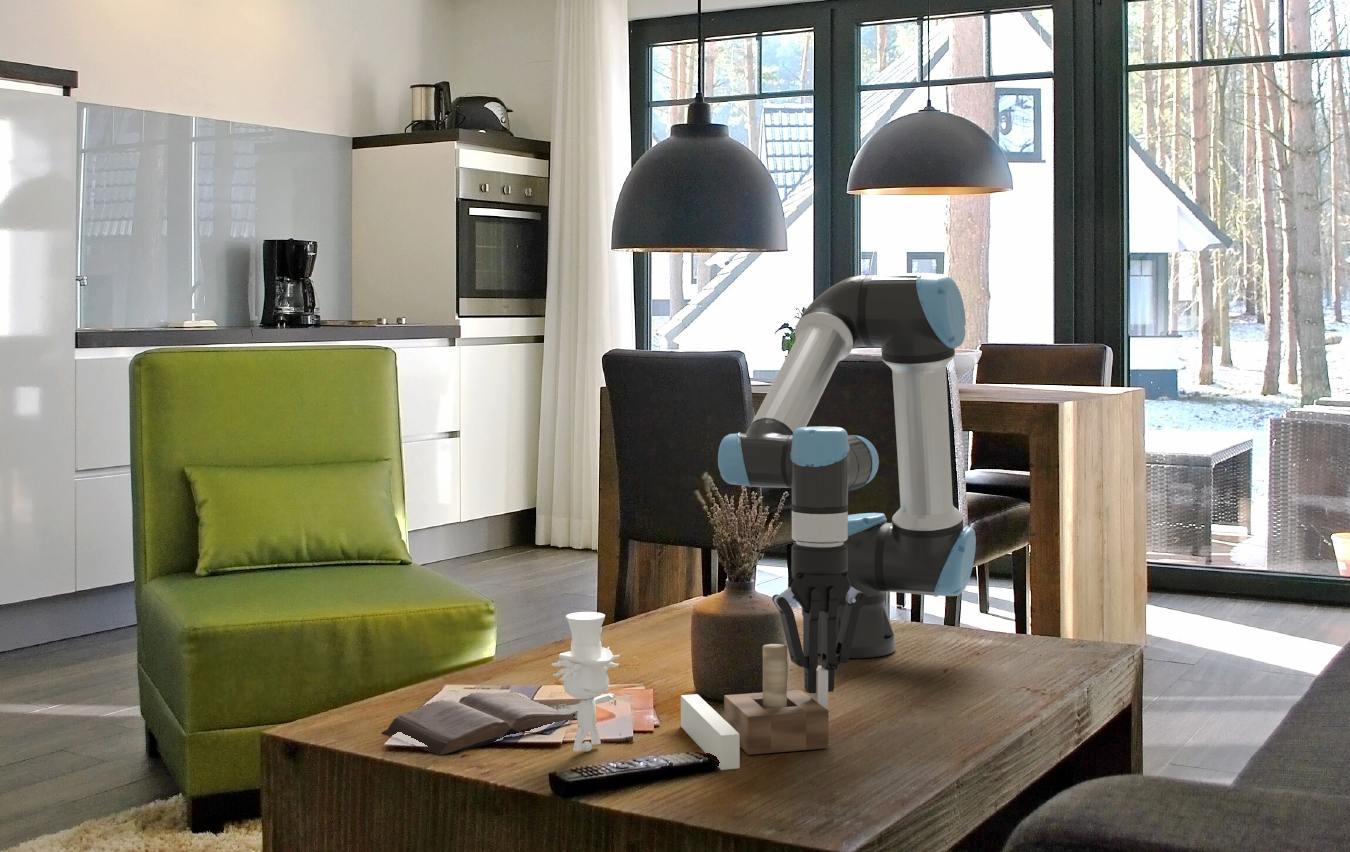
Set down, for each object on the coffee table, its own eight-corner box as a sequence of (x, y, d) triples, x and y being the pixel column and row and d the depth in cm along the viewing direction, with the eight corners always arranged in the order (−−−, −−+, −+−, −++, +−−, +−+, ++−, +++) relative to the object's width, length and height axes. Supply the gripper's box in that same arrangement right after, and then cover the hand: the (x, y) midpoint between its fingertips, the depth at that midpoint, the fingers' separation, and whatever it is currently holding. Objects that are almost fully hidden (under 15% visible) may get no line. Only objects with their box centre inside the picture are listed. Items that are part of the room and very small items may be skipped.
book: (360, 736, 194) (359, 705, 194) (524, 695, 213) (524, 667, 212) (439, 779, 180) (439, 745, 179) (607, 731, 198) (608, 700, 198)
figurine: (582, 767, 177) (580, 626, 176) (538, 756, 182) (536, 618, 181) (634, 747, 185) (634, 612, 184) (591, 737, 190) (590, 606, 189)
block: (724, 731, 192) (724, 695, 192) (800, 725, 195) (800, 689, 194) (748, 754, 181) (748, 716, 181) (828, 748, 184) (828, 710, 184)
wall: (680, 726, 195) (680, 695, 195) (697, 725, 196) (697, 694, 195) (721, 770, 176) (721, 735, 175) (739, 768, 176) (739, 734, 176)
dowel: (759, 732, 189) (759, 644, 188) (782, 731, 190) (782, 643, 189) (767, 739, 186) (766, 649, 185) (790, 737, 187) (790, 648, 186)
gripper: (854, 536, 193) (854, 705, 195) (764, 540, 190) (764, 712, 191) (876, 544, 186) (875, 719, 187) (782, 548, 182) (782, 727, 184)
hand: (819, 715), depth 189 cm, fingers closed
